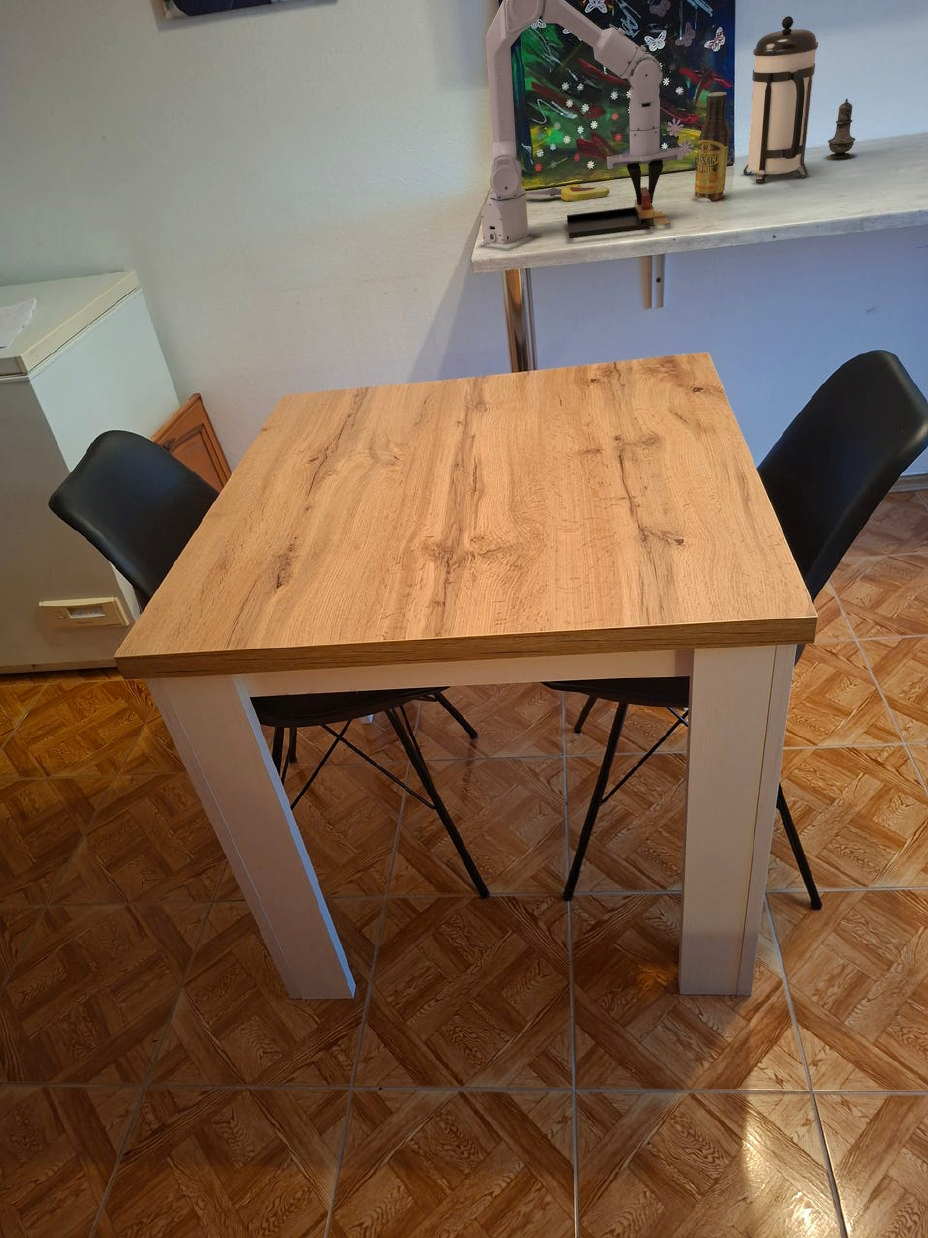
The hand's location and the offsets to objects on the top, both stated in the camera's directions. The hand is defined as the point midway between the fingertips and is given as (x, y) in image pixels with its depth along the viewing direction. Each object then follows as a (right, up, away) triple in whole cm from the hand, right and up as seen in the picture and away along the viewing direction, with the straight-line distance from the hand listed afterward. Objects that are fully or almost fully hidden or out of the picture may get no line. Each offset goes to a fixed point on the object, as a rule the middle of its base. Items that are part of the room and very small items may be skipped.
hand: (644, 202), depth 177 cm
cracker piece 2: (+3, -5, 0) cm, 6 cm away
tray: (-7, -4, +4) cm, 9 cm away
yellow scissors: (-14, +14, +29) cm, 35 cm away
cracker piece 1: (+3, -2, +4) cm, 6 cm away
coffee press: (+34, +15, +19) cm, 42 cm away
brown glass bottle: (+17, +6, +12) cm, 22 cm away
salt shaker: (+51, +23, +26) cm, 61 cm away
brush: (0, -2, +2) cm, 3 cm away
